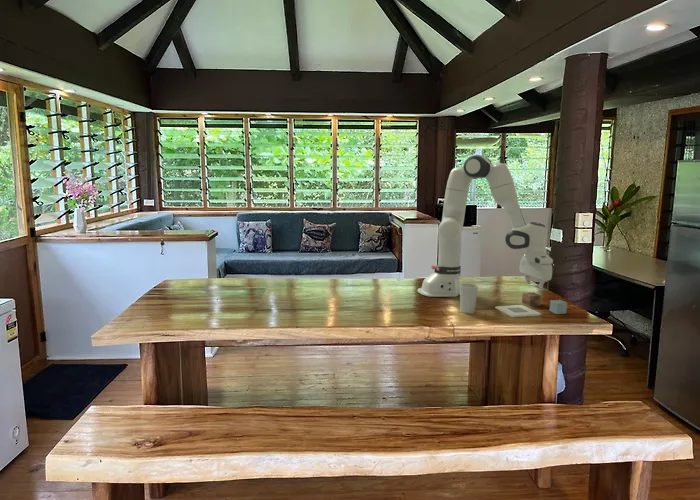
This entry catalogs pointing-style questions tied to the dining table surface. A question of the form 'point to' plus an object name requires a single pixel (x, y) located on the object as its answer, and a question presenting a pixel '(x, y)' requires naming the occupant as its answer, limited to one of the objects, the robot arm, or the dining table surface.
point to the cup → (468, 297)
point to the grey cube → (558, 306)
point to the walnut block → (531, 299)
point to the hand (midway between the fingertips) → (534, 285)
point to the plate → (517, 311)
